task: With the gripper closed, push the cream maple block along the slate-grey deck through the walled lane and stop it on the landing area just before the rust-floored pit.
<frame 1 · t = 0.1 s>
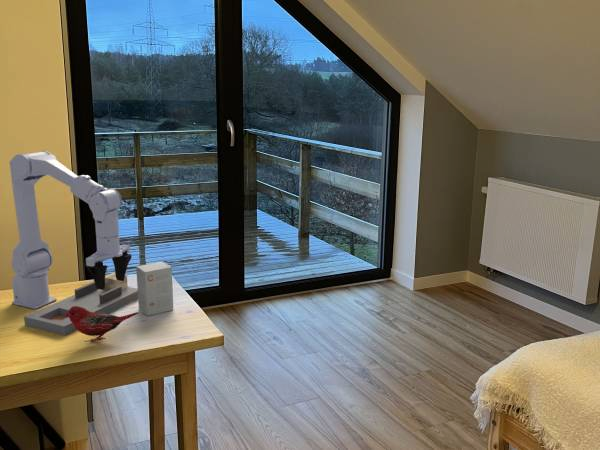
hand: (110, 284, 157), 10 cm above the table, fingers open, 7 cm apart
small box: (156, 310, 166), on the table
decorative bird figurine: (104, 340, 147), on the table
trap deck: (86, 310, 165), on the table
maple block: (115, 288, 175), point 2 cm above the table, touching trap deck
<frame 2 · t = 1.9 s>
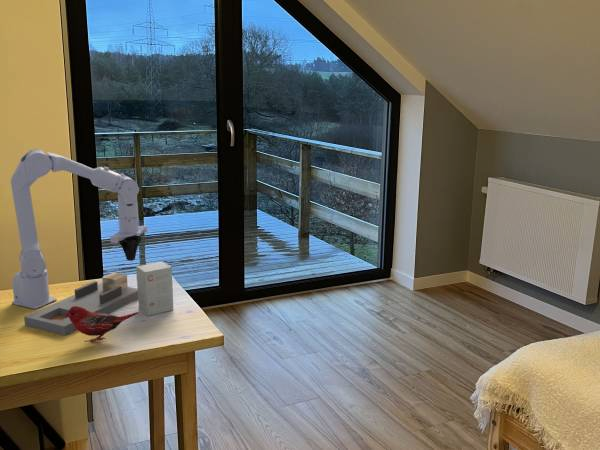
hand: (130, 259, 180), 9 cm above the table, fingers closed
nothing on the table moved.
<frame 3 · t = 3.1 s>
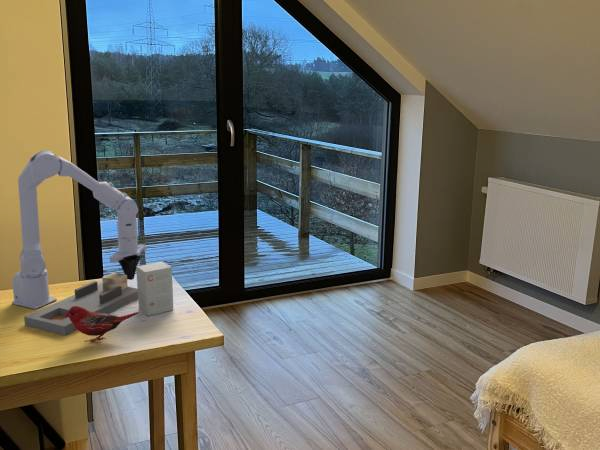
hand: (130, 278, 181), 3 cm above the table, fingers closed
nothing on the table moved.
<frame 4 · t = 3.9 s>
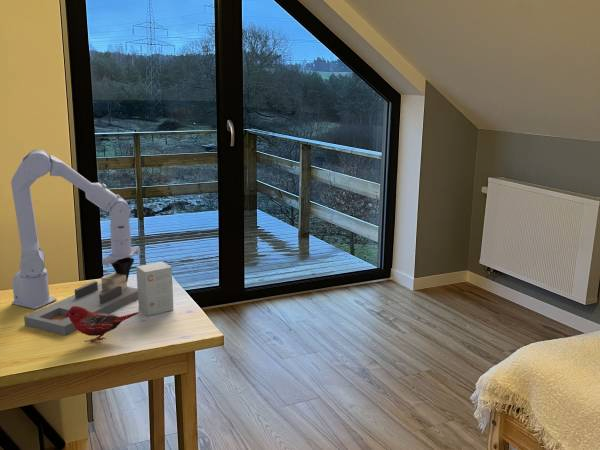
hand: (123, 281, 178), 3 cm above the table, fingers closed
maple block: (114, 289, 174), point 3 cm above the table, touching gripper
everything else where it was.
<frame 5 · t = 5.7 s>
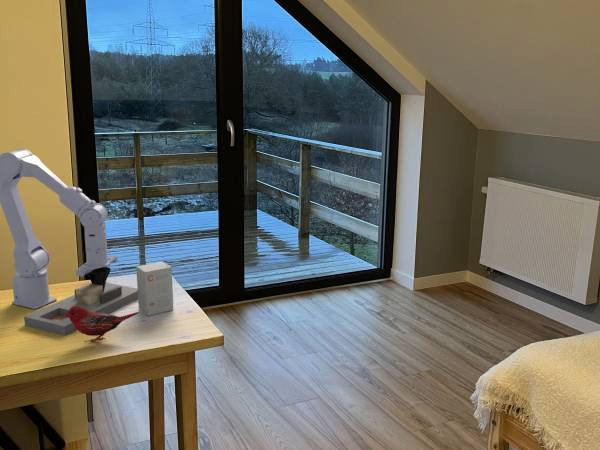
hand: (99, 292, 169), 3 cm above the table, fingers closed
maple block: (90, 300, 165), point 3 cm above the table, touching gripper, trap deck
everything else where it was.
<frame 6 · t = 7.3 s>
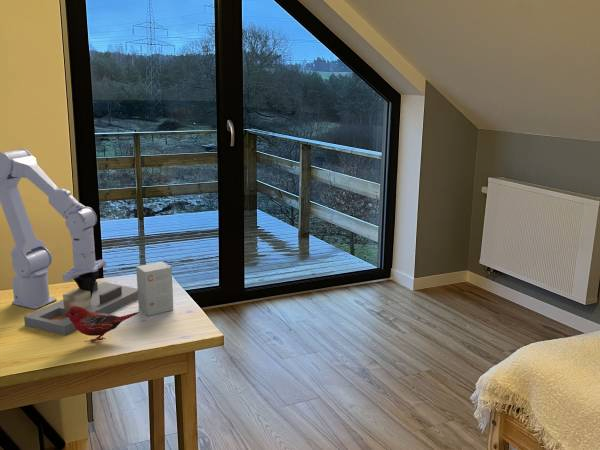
hand: (87, 298, 164), 4 cm above the table, fingers closed
maple block: (77, 306, 161), point 2 cm above the table, touching gripper, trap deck
everything else where it was.
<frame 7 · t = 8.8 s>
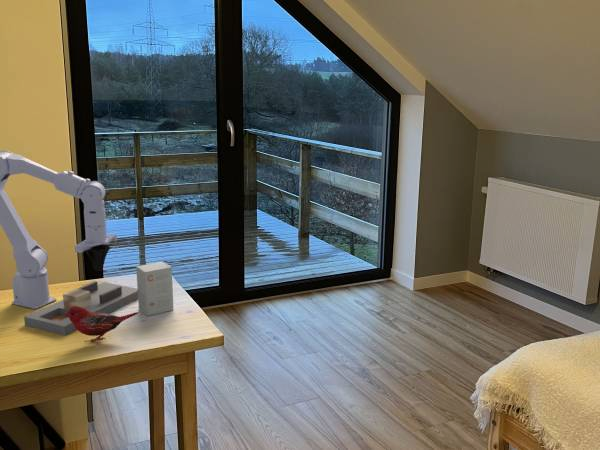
hand: (98, 270, 170), 9 cm above the table, fingers closed
maple block: (77, 306, 161), point 2 cm above the table, touching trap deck
everything else where it was.
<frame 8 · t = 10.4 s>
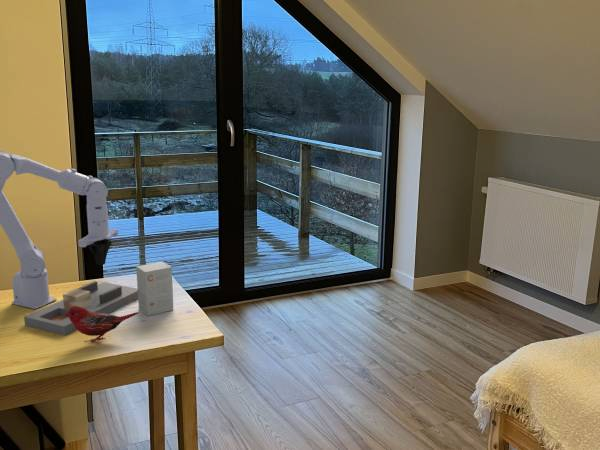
hand: (100, 264, 175), 9 cm above the table, fingers closed
nothing on the table moved.
at the end: maple block 1.0 cm from the target spot, point 2.5 cm above the table; maple block tilted 0°; maple block moved 15.5 cm from its start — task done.
